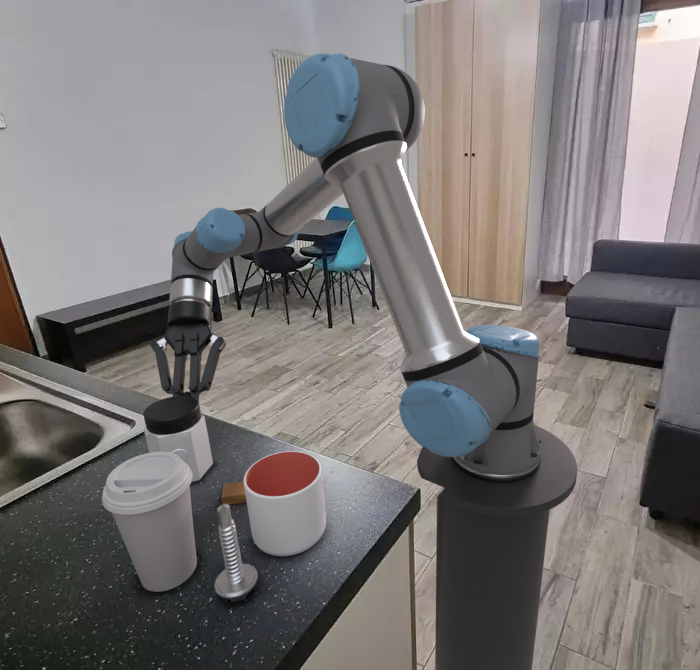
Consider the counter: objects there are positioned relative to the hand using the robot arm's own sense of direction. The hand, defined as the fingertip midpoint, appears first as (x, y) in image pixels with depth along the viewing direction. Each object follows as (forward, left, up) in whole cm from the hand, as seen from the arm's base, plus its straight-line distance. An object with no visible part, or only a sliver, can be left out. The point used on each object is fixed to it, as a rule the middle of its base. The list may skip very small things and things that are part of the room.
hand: (184, 430), depth 83 cm
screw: (-12, +31, -5) cm, 34 cm away
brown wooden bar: (-14, +13, -5) cm, 20 cm away
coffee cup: (-3, +26, -5) cm, 26 cm away
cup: (-18, +22, -5) cm, 29 cm away
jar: (0, +4, -5) cm, 7 cm away
